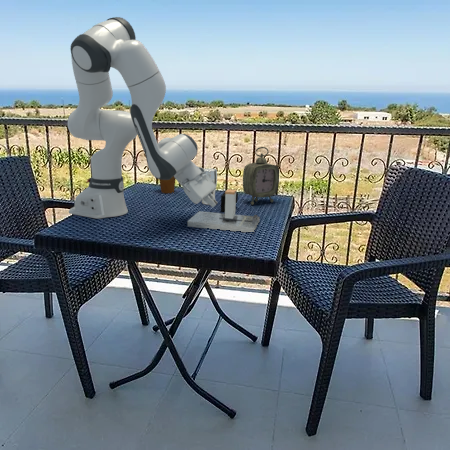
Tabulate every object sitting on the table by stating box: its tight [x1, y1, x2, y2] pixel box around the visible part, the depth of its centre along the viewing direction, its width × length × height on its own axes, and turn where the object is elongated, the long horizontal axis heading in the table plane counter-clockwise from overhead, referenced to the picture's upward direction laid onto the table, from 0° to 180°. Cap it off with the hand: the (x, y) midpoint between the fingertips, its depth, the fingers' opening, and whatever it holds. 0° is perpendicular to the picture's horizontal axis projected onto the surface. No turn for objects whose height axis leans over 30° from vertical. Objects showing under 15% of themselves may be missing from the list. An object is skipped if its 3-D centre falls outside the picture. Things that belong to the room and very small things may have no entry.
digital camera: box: [220, 191, 239, 213], centre depth 163 cm, size 10×5×7 cm, turn 169°
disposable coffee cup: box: [158, 176, 176, 194], centre depth 189 cm, size 10×10×12 cm
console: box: [187, 210, 260, 233], centre depth 143 cm, size 24×14×4 cm, turn 76°
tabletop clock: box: [242, 146, 280, 206], centre depth 173 cm, size 14×9×25 cm, turn 120°
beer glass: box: [201, 168, 218, 206], centre depth 170 cm, size 7×7×15 cm
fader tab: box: [222, 188, 238, 220], centre depth 141 cm, size 5×4×10 cm
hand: (215, 205), depth 142 cm, fingers closed
